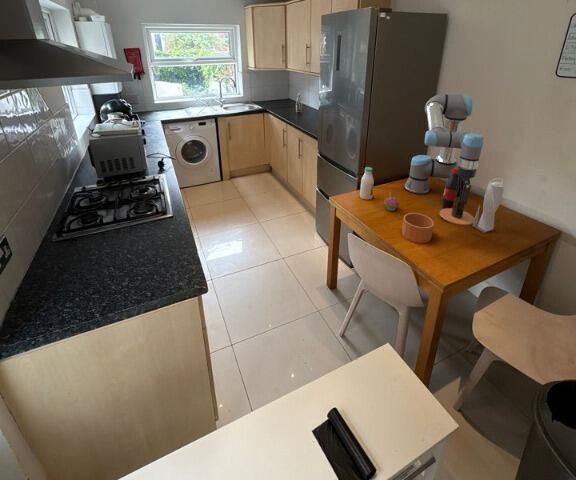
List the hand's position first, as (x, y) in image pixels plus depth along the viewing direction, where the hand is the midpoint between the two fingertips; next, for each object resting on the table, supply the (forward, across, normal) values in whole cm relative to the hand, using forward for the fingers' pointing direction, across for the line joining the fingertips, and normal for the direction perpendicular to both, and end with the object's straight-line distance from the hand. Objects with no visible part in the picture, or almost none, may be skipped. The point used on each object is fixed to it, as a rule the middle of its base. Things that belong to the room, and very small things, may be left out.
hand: (457, 211), depth 146 cm
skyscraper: (+15, -14, +18) cm, 27 cm away
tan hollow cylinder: (+15, +3, -17) cm, 23 cm away
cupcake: (+15, -21, -29) cm, 39 cm away
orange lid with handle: (+3, 0, 0) cm, 3 cm away
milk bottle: (+15, -32, -44) cm, 56 cm away
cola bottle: (+15, -19, +1) cm, 24 cm away
